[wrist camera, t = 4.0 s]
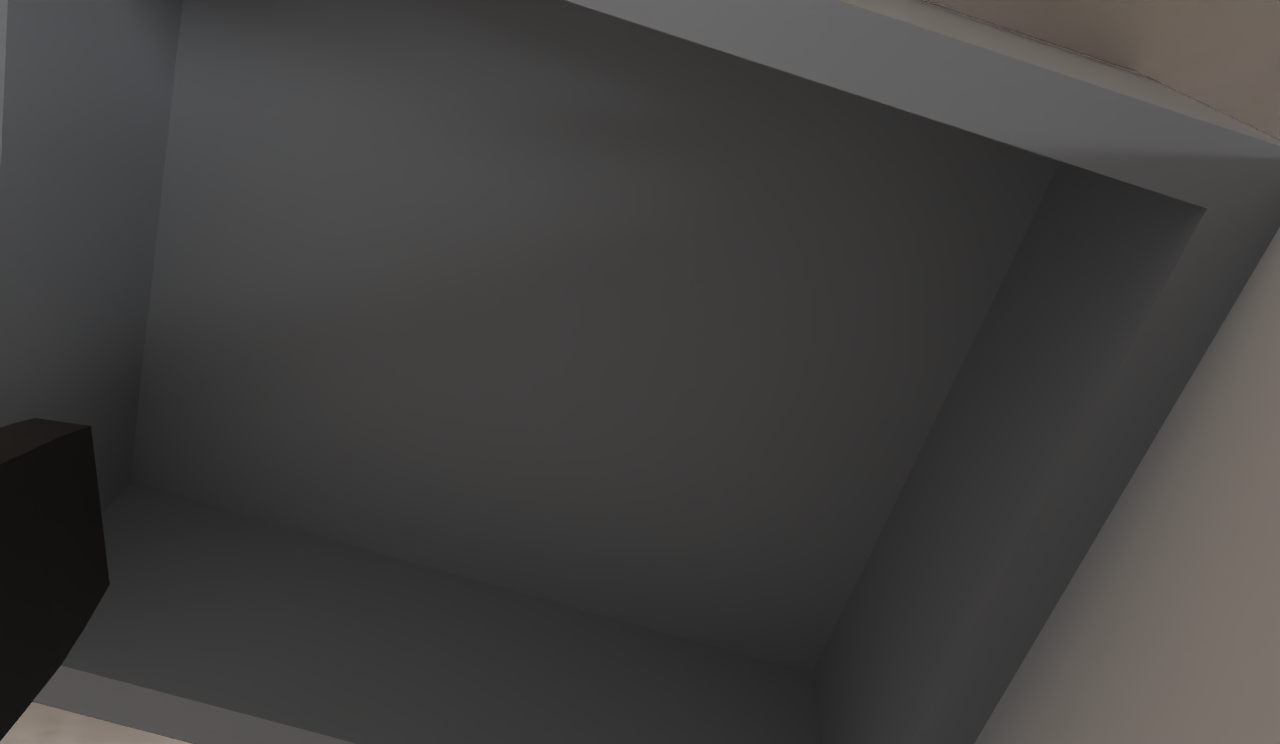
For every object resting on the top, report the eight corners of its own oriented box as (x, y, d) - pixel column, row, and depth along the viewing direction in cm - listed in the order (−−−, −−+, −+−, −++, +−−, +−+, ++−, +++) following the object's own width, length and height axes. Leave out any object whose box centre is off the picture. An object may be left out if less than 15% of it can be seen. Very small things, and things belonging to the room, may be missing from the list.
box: (1138, 73, 15) (1319, 159, 11) (833, 687, 21) (870, 919, 16) (174, -250, 14) (-69, -302, 10) (102, 484, 19) (-80, 672, 15)
